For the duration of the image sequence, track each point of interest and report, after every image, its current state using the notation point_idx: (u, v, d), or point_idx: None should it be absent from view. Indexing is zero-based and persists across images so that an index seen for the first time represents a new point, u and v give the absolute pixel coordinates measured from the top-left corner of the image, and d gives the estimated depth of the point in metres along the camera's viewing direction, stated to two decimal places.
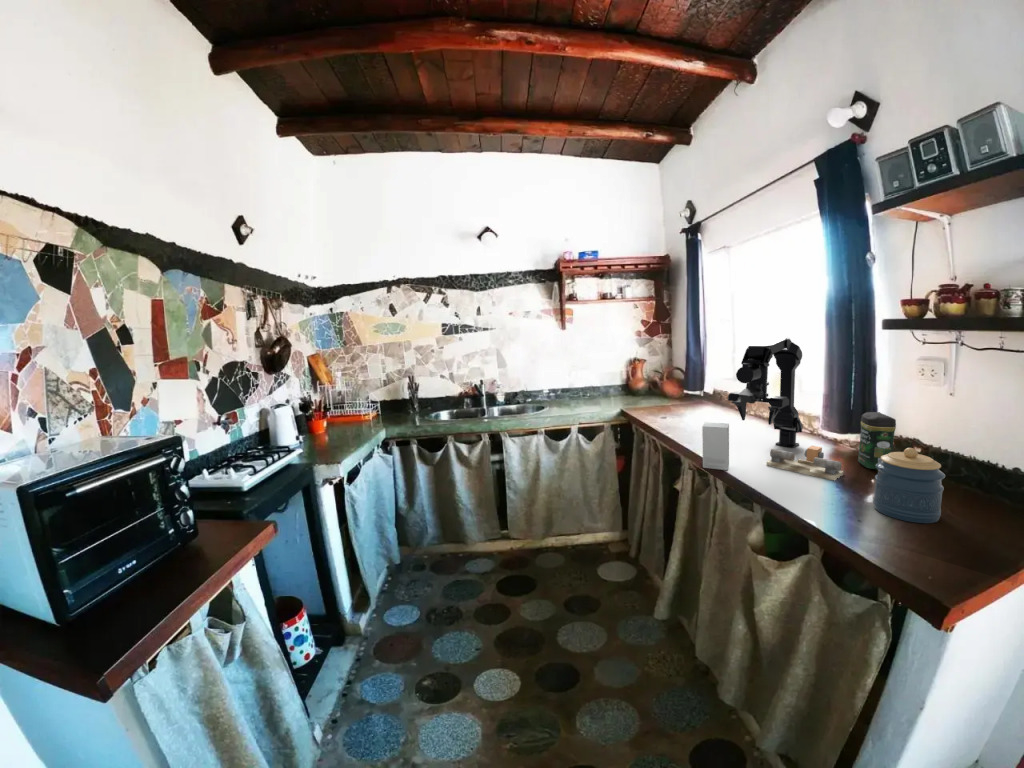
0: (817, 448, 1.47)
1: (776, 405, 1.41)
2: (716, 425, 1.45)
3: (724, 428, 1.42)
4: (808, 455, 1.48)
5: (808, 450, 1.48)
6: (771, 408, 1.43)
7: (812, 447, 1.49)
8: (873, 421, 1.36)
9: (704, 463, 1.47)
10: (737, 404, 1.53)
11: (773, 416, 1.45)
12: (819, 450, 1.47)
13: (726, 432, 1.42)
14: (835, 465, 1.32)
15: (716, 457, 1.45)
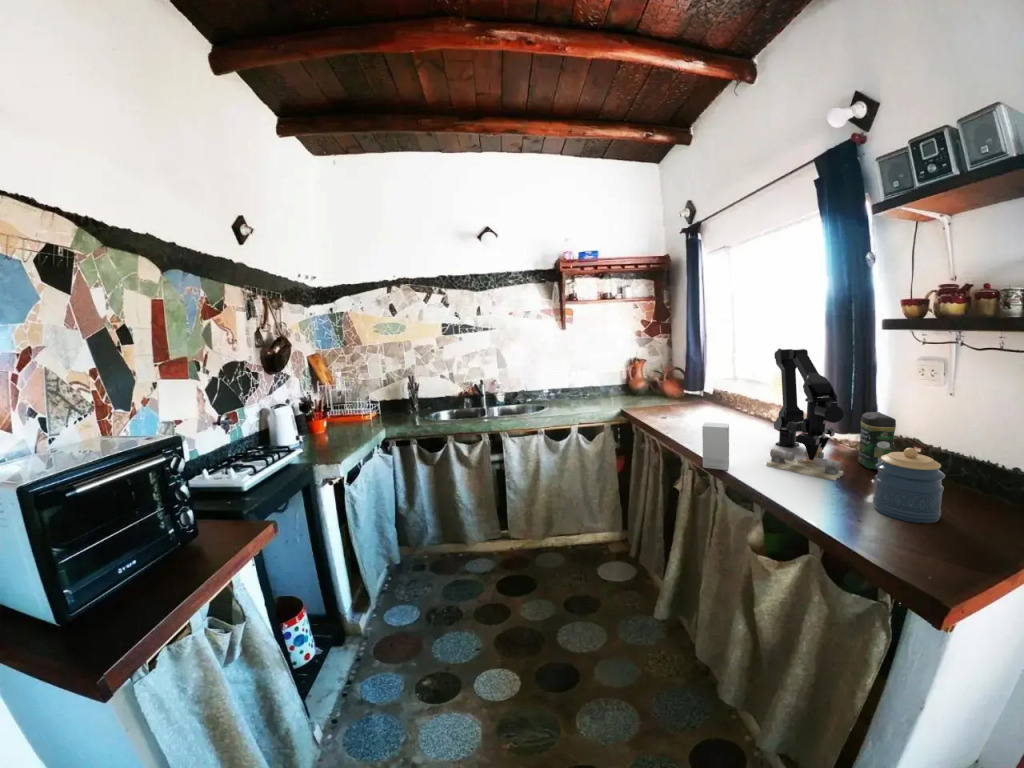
0: None
1: None
2: (716, 425, 1.45)
3: (724, 428, 1.42)
4: None
5: None
6: None
7: None
8: (873, 421, 1.36)
9: (704, 463, 1.47)
10: None
11: (810, 452, 1.46)
12: (819, 450, 1.47)
13: (726, 432, 1.42)
14: (835, 465, 1.32)
15: (716, 457, 1.45)
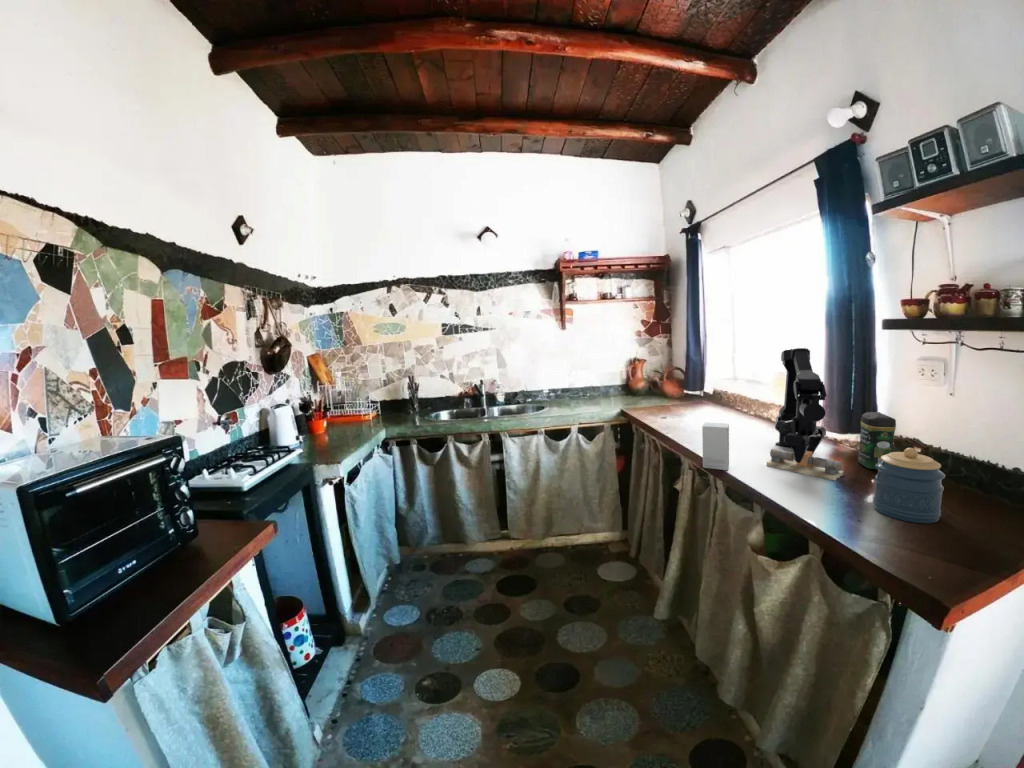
0: (807, 452, 1.40)
1: None
2: (716, 425, 1.45)
3: (724, 428, 1.42)
4: None
5: None
6: None
7: None
8: (873, 421, 1.36)
9: (704, 463, 1.47)
10: None
11: (797, 454, 1.37)
12: (809, 455, 1.39)
13: (726, 432, 1.42)
14: (835, 465, 1.32)
15: (716, 457, 1.45)
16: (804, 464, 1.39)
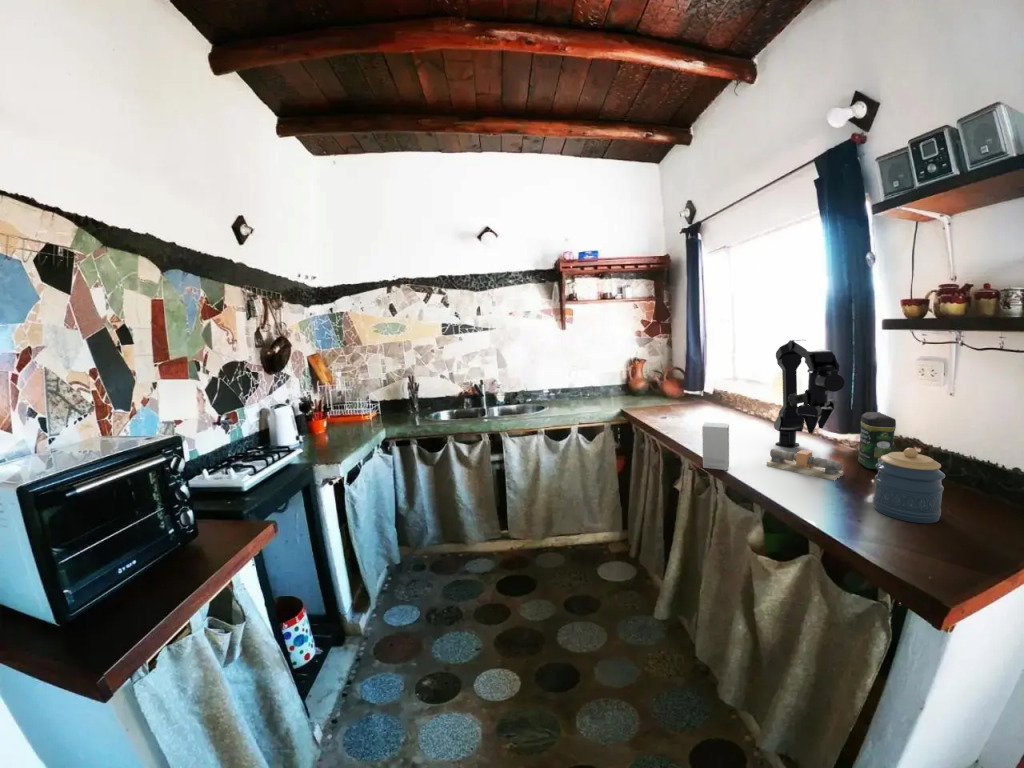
0: (807, 452, 1.40)
1: None
2: (716, 425, 1.45)
3: (724, 428, 1.42)
4: (798, 460, 1.40)
5: (798, 455, 1.40)
6: None
7: (802, 451, 1.41)
8: (873, 421, 1.36)
9: (704, 463, 1.47)
10: None
11: (809, 425, 1.41)
12: (809, 455, 1.39)
13: (726, 432, 1.42)
14: (835, 465, 1.32)
15: (716, 457, 1.45)
16: (804, 464, 1.39)
